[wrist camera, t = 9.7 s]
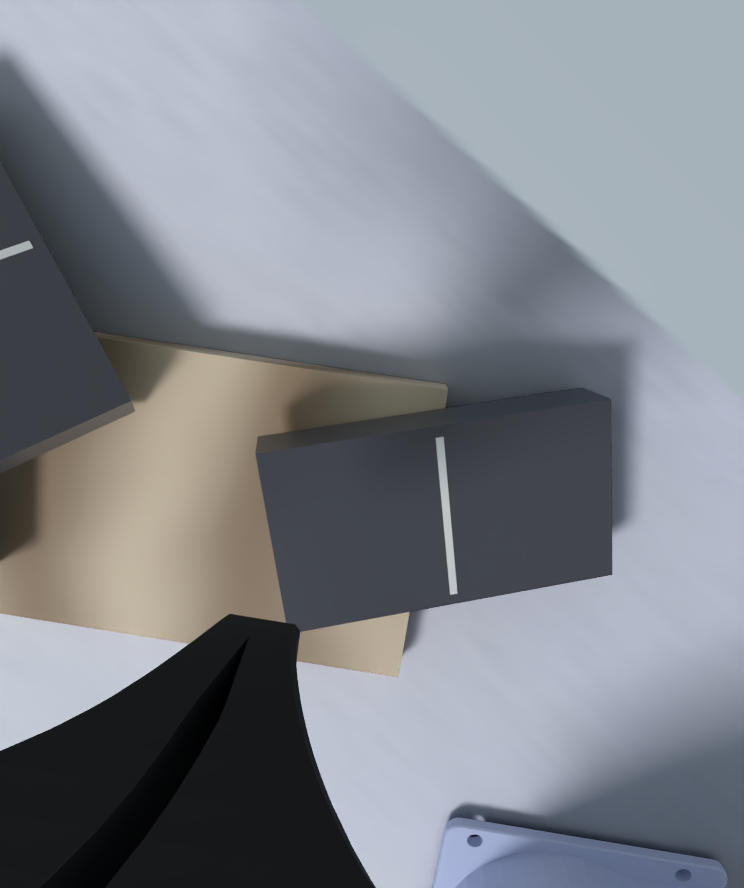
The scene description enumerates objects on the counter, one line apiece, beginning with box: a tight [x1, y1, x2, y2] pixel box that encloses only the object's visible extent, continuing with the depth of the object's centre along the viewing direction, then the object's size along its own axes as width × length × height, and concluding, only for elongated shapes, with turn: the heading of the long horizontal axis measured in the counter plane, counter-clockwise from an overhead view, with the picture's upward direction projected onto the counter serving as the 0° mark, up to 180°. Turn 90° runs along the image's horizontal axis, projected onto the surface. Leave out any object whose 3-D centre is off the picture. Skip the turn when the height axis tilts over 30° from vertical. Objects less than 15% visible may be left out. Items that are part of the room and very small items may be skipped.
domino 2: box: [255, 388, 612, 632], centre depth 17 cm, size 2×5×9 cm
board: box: [0, 332, 448, 677], centre depth 19 cm, size 21×9×1 cm, turn 82°
